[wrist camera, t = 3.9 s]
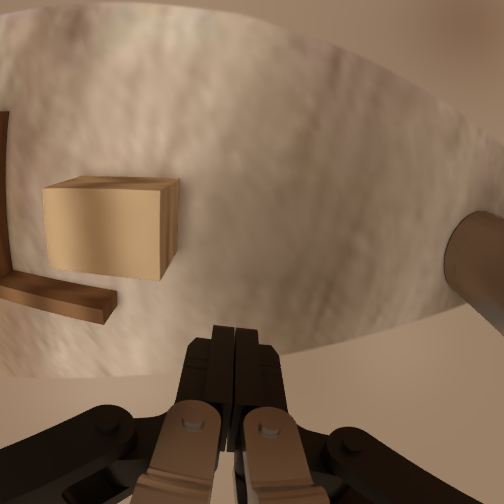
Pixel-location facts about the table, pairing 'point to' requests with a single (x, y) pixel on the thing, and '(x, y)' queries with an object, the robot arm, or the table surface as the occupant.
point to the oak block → (112, 225)
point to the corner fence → (41, 288)
